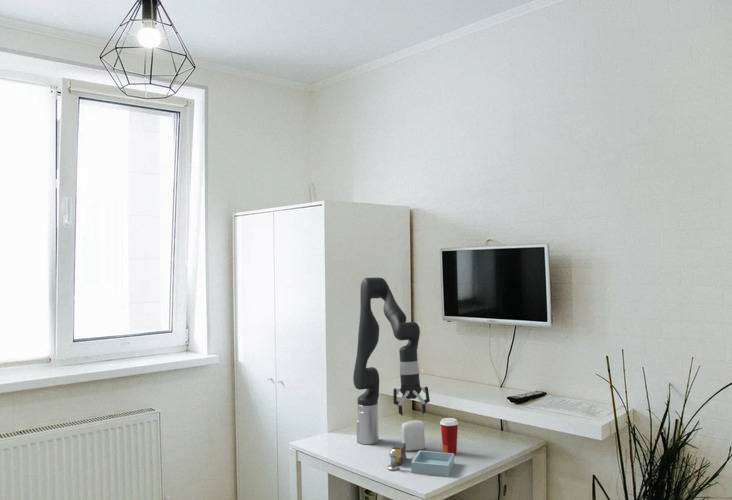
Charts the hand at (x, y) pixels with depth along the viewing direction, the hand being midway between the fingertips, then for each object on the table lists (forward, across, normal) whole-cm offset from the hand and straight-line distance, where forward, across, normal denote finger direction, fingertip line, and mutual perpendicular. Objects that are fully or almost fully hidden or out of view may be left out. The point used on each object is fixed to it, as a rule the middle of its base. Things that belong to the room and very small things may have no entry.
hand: (412, 414), depth 228 cm
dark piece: (+20, +6, -11) cm, 24 cm away
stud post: (+21, +9, -2) cm, 23 cm away
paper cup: (+20, -15, -19) cm, 32 cm away
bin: (+22, -7, -2) cm, 23 cm away
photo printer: (+19, 0, -25) cm, 31 cm away
